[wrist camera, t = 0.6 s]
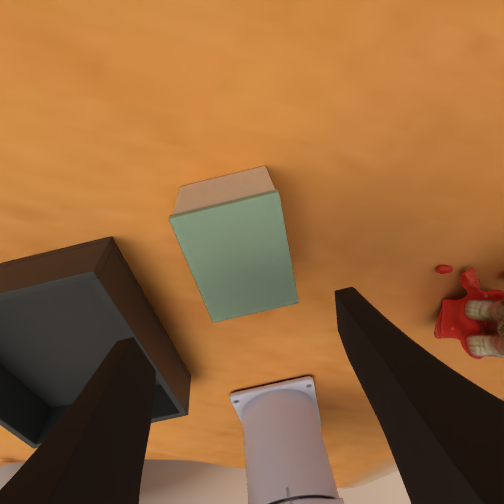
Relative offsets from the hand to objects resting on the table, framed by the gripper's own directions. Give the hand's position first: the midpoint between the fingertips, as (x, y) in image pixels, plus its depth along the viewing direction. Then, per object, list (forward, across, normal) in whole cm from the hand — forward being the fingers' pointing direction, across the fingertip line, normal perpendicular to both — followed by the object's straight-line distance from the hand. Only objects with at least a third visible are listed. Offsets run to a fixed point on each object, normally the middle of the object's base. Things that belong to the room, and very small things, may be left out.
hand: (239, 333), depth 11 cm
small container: (+9, 0, +1) cm, 9 cm away
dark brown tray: (+10, +14, +7) cm, 18 cm away
